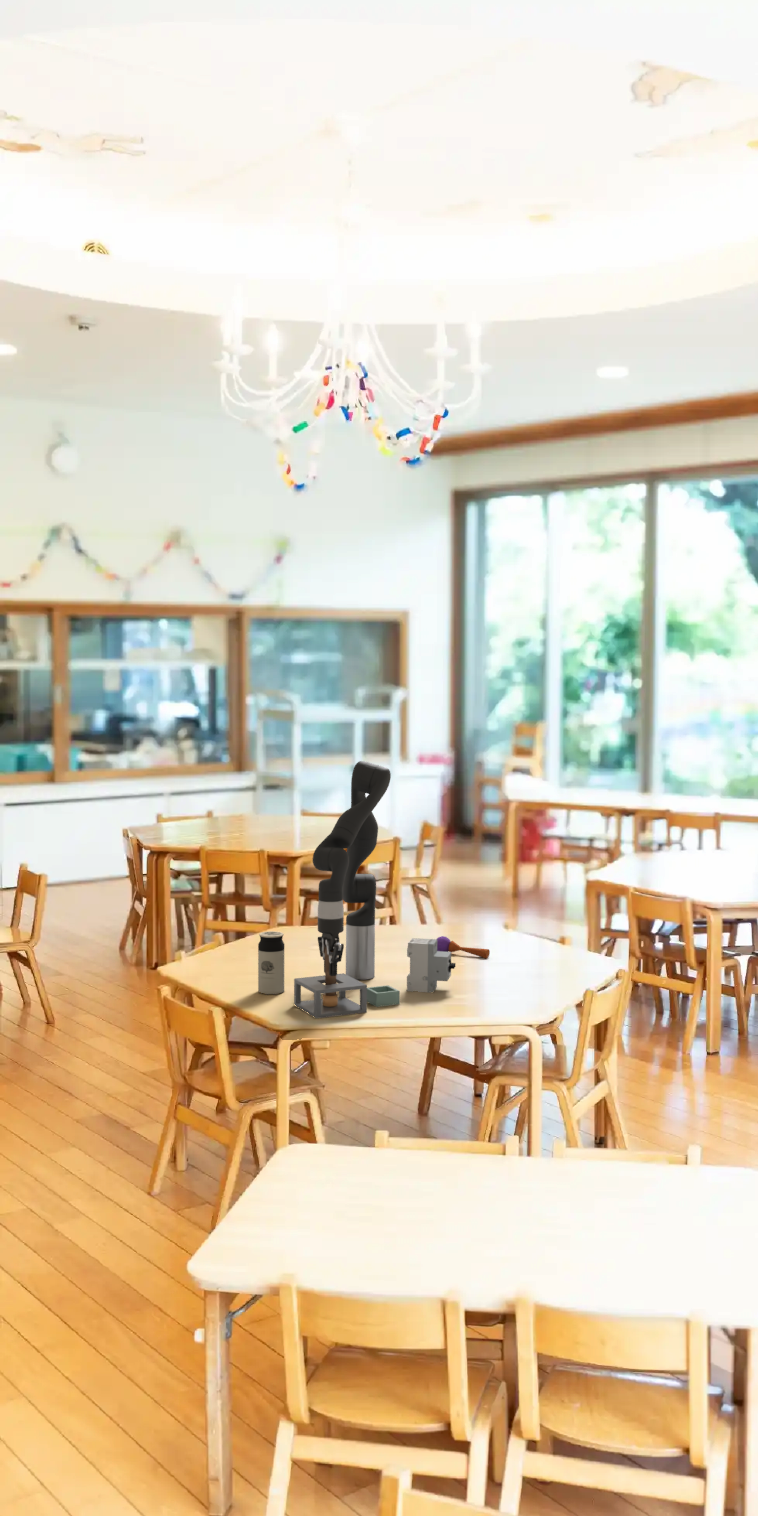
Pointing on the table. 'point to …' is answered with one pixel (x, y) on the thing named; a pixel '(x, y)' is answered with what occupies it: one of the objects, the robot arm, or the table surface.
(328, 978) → the brown rounded rod
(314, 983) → the gray open box frame
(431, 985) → the circuit breaker
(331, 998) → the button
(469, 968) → the table surface
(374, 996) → the holder
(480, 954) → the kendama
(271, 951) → the travel mug
